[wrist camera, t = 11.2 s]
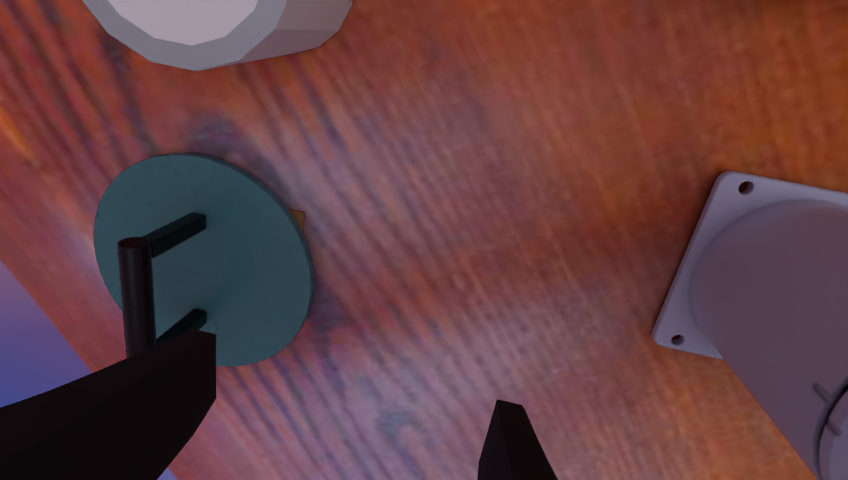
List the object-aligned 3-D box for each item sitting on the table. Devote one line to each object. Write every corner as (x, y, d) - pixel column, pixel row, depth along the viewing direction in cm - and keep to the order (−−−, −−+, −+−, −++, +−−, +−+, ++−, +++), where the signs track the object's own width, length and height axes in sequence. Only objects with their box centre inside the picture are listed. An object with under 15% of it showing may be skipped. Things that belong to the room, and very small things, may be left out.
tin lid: (329, 176, 20) (272, 215, 15) (310, 374, 24) (259, 459, 19) (101, 129, 21) (-29, 150, 16) (119, 328, 25) (20, 397, 20)
